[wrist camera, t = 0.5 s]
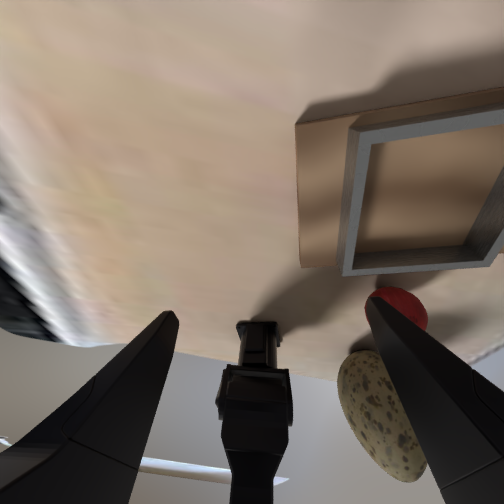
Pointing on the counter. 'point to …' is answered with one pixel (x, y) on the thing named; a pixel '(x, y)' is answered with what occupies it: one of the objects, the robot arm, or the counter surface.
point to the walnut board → (397, 180)
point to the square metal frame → (430, 258)
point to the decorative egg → (379, 416)
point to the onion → (403, 304)
